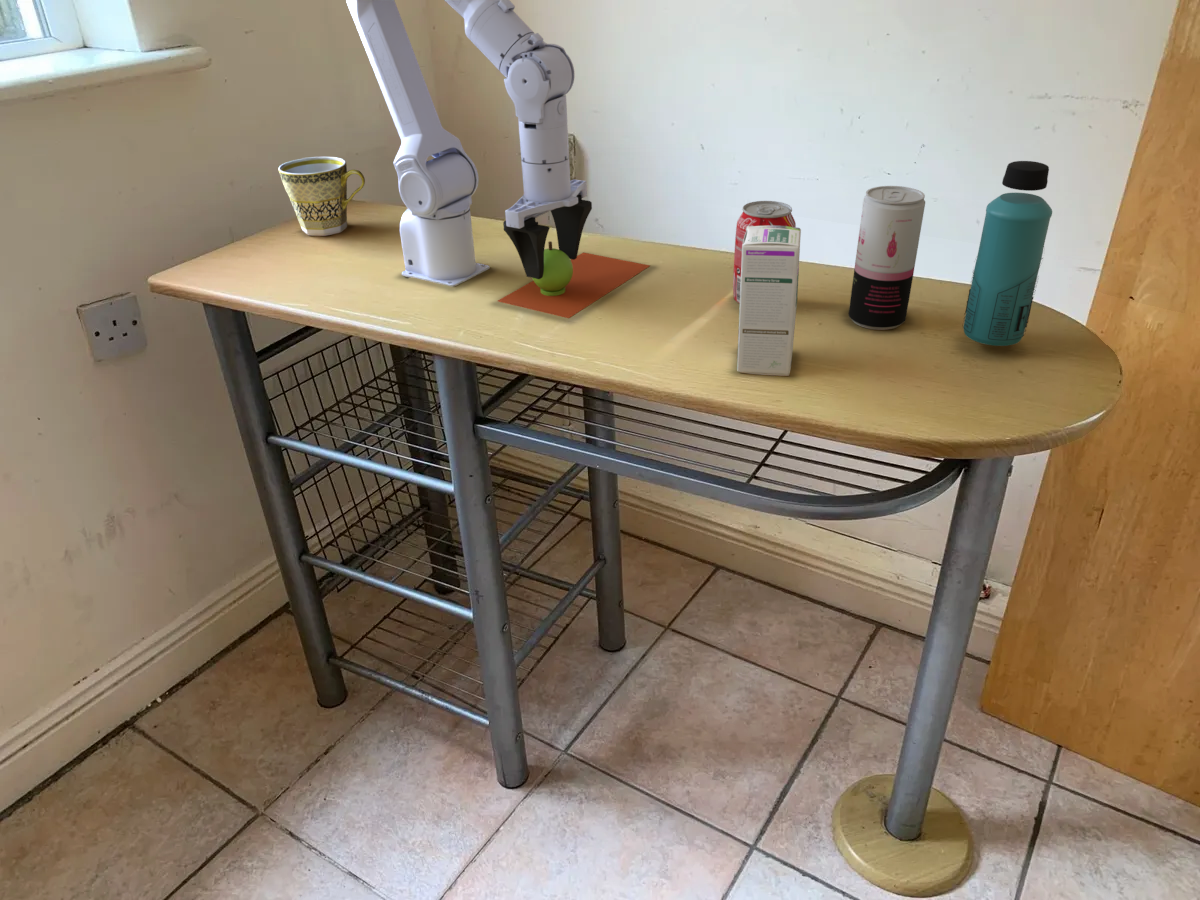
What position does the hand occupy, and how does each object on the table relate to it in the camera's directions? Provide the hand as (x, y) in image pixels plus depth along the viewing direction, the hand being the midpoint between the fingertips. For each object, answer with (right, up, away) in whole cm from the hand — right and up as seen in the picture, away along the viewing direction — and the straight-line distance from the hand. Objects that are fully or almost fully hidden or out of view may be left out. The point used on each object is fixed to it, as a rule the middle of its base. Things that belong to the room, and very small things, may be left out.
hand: (552, 267), depth 114 cm
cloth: (+3, -1, +4) cm, 6 cm away
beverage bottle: (+49, -12, -14) cm, 53 cm away
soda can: (+26, -5, -2) cm, 27 cm away
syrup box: (+24, -14, -16) cm, 32 cm away
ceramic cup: (-36, +11, +27) cm, 46 cm away
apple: (0, -3, +2) cm, 3 cm away
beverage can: (+39, -8, -7) cm, 40 cm away
